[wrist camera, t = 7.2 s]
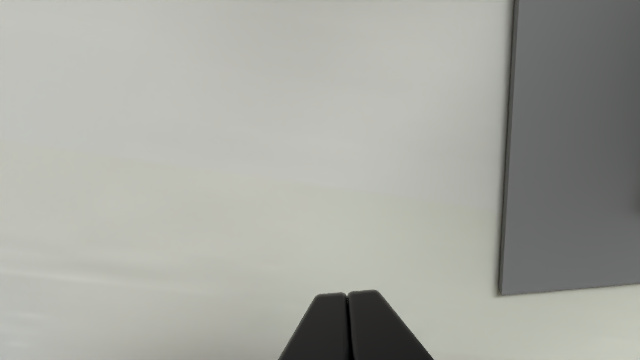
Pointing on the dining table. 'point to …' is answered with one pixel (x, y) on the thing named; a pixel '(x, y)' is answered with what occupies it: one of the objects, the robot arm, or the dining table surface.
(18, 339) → the dining table surface
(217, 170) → the dining table surface
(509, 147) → the mat
